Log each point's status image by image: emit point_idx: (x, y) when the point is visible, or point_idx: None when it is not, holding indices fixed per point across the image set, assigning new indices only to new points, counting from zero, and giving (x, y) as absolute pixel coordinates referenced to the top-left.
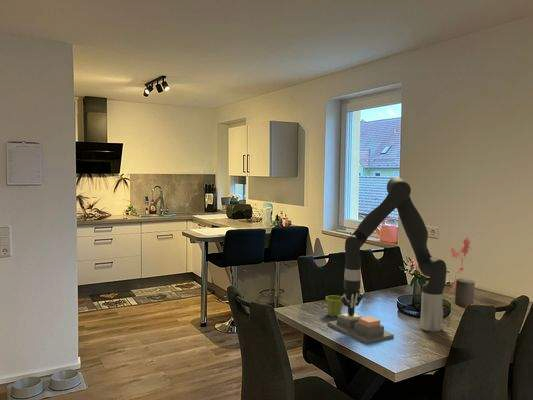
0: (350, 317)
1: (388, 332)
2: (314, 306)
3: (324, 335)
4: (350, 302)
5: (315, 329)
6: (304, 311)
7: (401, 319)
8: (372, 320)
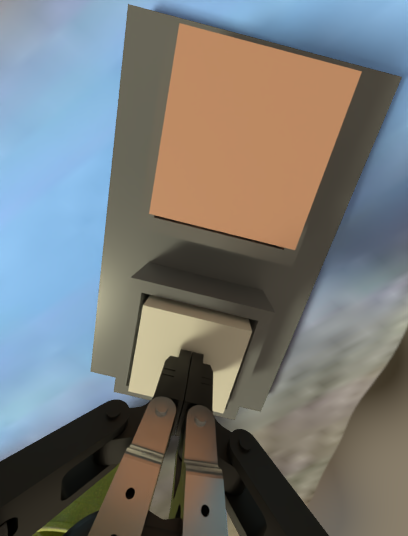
0: (236, 339)
1: (124, 68)
2: None
3: (399, 334)
4: (218, 487)
5: (349, 400)
6: None
7: None
8: (261, 91)
